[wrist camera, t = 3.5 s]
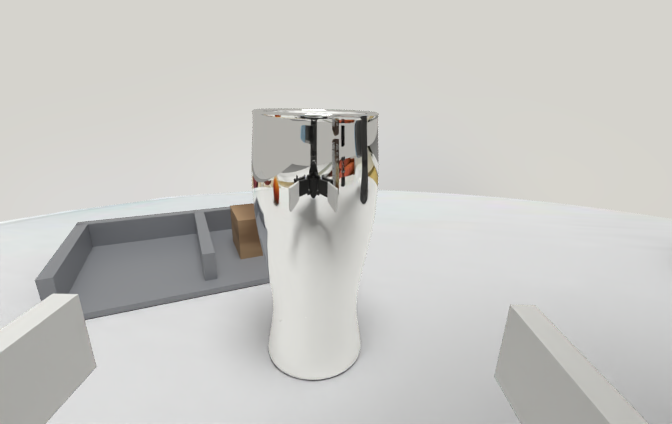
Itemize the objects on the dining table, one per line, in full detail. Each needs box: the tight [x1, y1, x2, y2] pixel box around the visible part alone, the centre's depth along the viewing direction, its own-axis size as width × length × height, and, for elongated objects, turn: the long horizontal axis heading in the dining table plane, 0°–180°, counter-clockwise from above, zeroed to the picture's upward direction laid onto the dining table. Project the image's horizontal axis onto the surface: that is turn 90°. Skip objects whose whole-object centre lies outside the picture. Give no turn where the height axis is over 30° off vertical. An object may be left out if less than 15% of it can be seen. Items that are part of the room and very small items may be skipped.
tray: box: [35, 207, 270, 319], centre depth 33 cm, size 23×14×3 cm, turn 115°
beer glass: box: [252, 109, 378, 380], centre depth 20 cm, size 7×7×15 cm
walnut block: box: [230, 204, 263, 259], centre depth 35 cm, size 5×5×4 cm
